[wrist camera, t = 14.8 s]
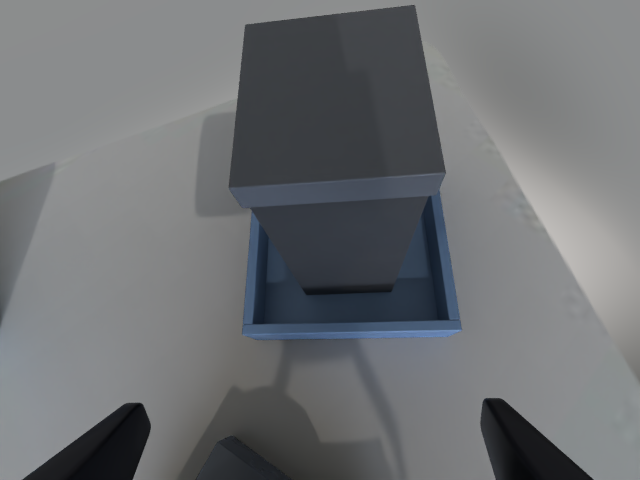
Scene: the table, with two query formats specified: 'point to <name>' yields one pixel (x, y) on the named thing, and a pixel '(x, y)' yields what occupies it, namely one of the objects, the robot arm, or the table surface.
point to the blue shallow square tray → (358, 308)
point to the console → (237, 464)
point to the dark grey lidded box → (337, 144)
